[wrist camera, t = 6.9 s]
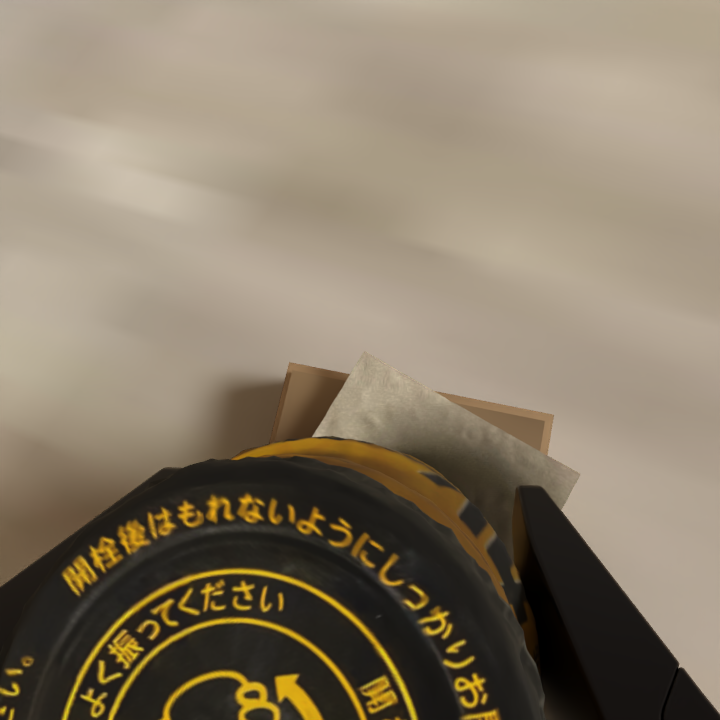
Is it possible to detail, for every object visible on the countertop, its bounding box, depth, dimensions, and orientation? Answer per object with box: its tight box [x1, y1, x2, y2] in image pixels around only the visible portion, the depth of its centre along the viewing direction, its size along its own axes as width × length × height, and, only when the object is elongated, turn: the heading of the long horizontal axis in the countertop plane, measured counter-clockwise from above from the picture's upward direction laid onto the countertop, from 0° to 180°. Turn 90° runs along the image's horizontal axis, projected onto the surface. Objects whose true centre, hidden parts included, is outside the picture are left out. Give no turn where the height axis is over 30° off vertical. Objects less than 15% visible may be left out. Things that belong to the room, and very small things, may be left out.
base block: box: [269, 362, 554, 455], centre depth 19 cm, size 9×9×4 cm
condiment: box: [0, 352, 580, 720], centre depth 10 cm, size 7×8×12 cm
